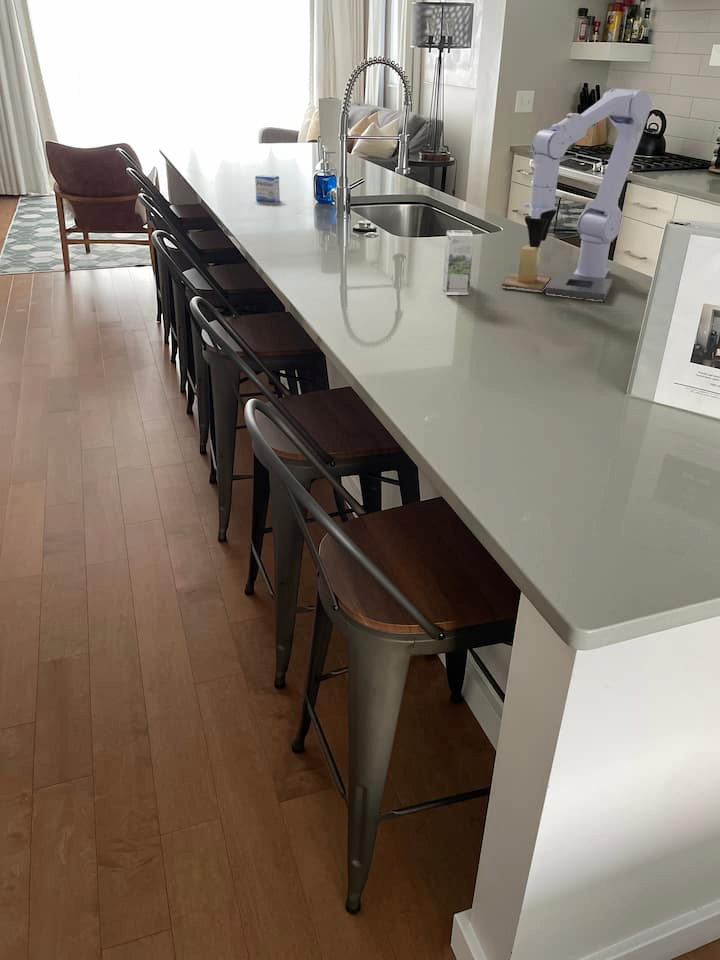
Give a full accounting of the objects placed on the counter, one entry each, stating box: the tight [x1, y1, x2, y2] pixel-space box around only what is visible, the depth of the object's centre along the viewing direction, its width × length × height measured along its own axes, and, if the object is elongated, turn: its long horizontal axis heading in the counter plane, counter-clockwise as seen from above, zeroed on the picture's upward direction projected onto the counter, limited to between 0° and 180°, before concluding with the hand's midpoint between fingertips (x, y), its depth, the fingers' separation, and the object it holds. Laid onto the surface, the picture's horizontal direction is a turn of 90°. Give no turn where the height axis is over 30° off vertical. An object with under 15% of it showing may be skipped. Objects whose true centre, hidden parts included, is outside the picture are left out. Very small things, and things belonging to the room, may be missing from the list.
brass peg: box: [518, 244, 541, 283], centre depth 196 cm, size 4×4×8 cm
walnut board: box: [501, 271, 553, 292], centre depth 199 cm, size 12×10×1 cm
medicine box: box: [254, 174, 281, 203], centre depth 292 cm, size 8×4×9 cm, turn 73°
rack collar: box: [544, 272, 613, 301], centre depth 194 cm, size 14×14×2 cm
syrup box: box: [442, 229, 475, 293], centre depth 189 cm, size 6×6×14 cm
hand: (537, 243), depth 194 cm, fingers open, 7 cm apart
